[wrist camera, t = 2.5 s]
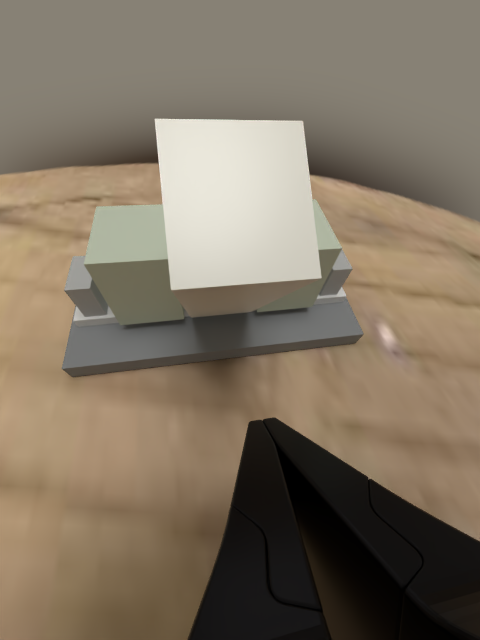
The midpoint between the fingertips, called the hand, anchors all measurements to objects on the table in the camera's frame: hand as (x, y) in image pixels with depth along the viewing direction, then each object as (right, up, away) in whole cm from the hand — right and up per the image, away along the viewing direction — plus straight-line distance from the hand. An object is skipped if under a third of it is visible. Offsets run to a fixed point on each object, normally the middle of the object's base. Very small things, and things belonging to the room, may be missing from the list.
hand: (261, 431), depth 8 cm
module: (-2, +7, +11) cm, 13 cm away
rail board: (-3, +4, +14) cm, 15 cm away
